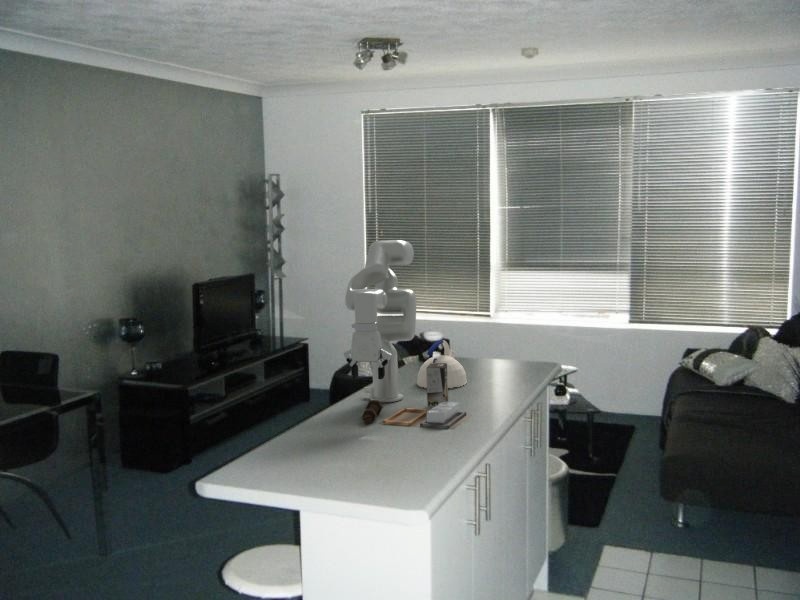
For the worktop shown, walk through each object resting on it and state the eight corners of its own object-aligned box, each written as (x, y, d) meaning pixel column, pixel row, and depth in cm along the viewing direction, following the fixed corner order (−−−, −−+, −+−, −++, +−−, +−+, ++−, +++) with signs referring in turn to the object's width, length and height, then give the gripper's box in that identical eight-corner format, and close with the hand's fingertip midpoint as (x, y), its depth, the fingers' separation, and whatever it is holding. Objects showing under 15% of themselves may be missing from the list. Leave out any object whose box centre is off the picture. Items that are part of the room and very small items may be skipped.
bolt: (365, 430, 269) (373, 417, 284) (378, 423, 268) (385, 410, 283) (356, 415, 269) (364, 403, 284) (368, 408, 268) (376, 396, 283)
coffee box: (445, 413, 280) (444, 367, 278) (427, 413, 281) (425, 367, 280) (449, 407, 289) (447, 362, 287) (431, 406, 290) (429, 362, 289)
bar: (427, 425, 260) (426, 412, 260) (443, 414, 274) (442, 401, 273) (444, 427, 258) (444, 413, 257) (459, 415, 271) (459, 402, 271)
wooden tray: (378, 427, 265) (378, 420, 265) (400, 413, 282) (400, 407, 282) (453, 433, 255) (453, 426, 255) (471, 418, 272) (471, 412, 271)
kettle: (476, 381, 332) (474, 337, 330) (451, 391, 315) (450, 345, 313) (433, 377, 343) (431, 335, 341) (407, 387, 326) (405, 342, 324)
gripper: (338, 328, 272) (340, 379, 274) (385, 329, 265) (387, 381, 267) (348, 326, 279) (350, 375, 281) (394, 326, 272) (396, 377, 274)
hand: (368, 378), depth 274 cm, fingers open, 9 cm apart
